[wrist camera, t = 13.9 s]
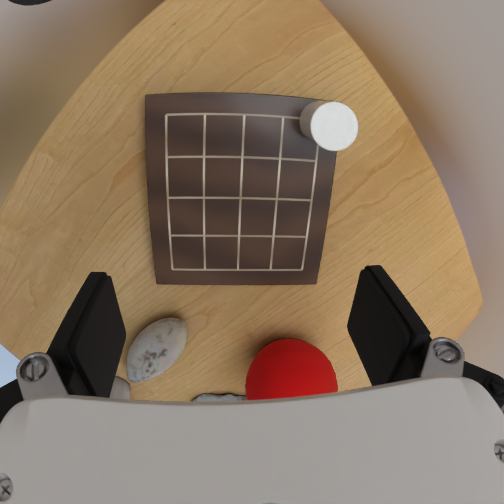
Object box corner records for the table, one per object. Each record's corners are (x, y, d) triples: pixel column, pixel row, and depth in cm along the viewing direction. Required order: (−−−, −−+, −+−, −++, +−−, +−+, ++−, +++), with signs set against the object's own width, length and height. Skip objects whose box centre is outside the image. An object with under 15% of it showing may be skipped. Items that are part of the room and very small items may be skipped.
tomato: (228, 340, 41) (231, 420, 29) (312, 310, 39) (339, 387, 28) (261, 389, 46) (271, 458, 35) (332, 364, 45) (355, 432, 34)
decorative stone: (116, 364, 42) (111, 381, 39) (158, 297, 36) (153, 315, 33) (152, 380, 44) (149, 398, 41) (201, 319, 38) (200, 338, 35)
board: (148, 94, 26) (144, 94, 24) (336, 102, 27) (342, 102, 26) (158, 277, 35) (156, 284, 34) (313, 277, 37) (316, 285, 35)
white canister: (300, 97, 26) (312, 98, 22) (344, 103, 26) (361, 105, 23) (297, 141, 28) (308, 148, 24) (339, 145, 28) (355, 153, 25)
